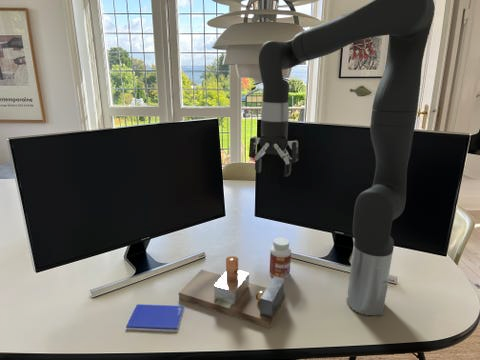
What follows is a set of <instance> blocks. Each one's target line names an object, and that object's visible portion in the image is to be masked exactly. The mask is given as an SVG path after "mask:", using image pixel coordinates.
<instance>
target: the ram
mask: <svg viewBox="0 0 480 360" xmlns="http://www.w3.org/2000/svg"><path fill="white" fill-rule="evenodd" d="M249 283H250V273H249V272H247V271H243V270H239V258H238V257H237V256H234V255H230V256H226V258H225V272H224V273H223V276H222V277H221V278H220V279H219V280H218V282H217V283H216V284H215V285H214V299H217V300H221V301H224V302H227V303H230V304H233V305H235V304H236V303H237V301H238V300H239V299H240V297H241V296H242V294H243V293H244V291H245V290H246V289H247V287H248V286H249Z"/></svg>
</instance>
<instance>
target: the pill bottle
mask: <svg viewBox="0 0 480 360" xmlns="http://www.w3.org/2000/svg"><path fill="white" fill-rule="evenodd" d="M272 242H273V243H272V244H273V246H271V248H270V251H269V252H270V256H269V269H268V270H269V274H270V276H272V278H273V277H274V276H275V277H279V278H283V279H287V278H288V277H289V276H290V272H291V262H292V261H291V259H292V249H291V248H290V241H289V239H287V238H285V237H276V238H274V239H273V241H272Z"/></svg>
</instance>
